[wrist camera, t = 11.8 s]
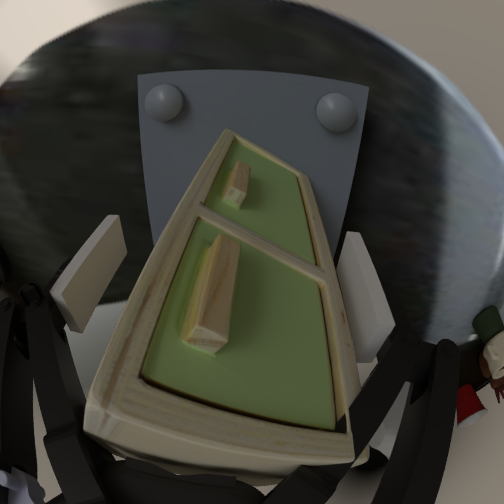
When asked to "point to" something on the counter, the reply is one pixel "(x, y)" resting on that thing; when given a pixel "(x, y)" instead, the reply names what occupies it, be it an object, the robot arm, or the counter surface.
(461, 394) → the plastic cup
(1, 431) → the robot arm
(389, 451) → the white spray bottle
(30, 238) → the counter surface
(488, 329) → the character mug
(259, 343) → the toy refrigerator
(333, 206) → the base brick
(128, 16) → the counter surface
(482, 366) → the wooden figurine
